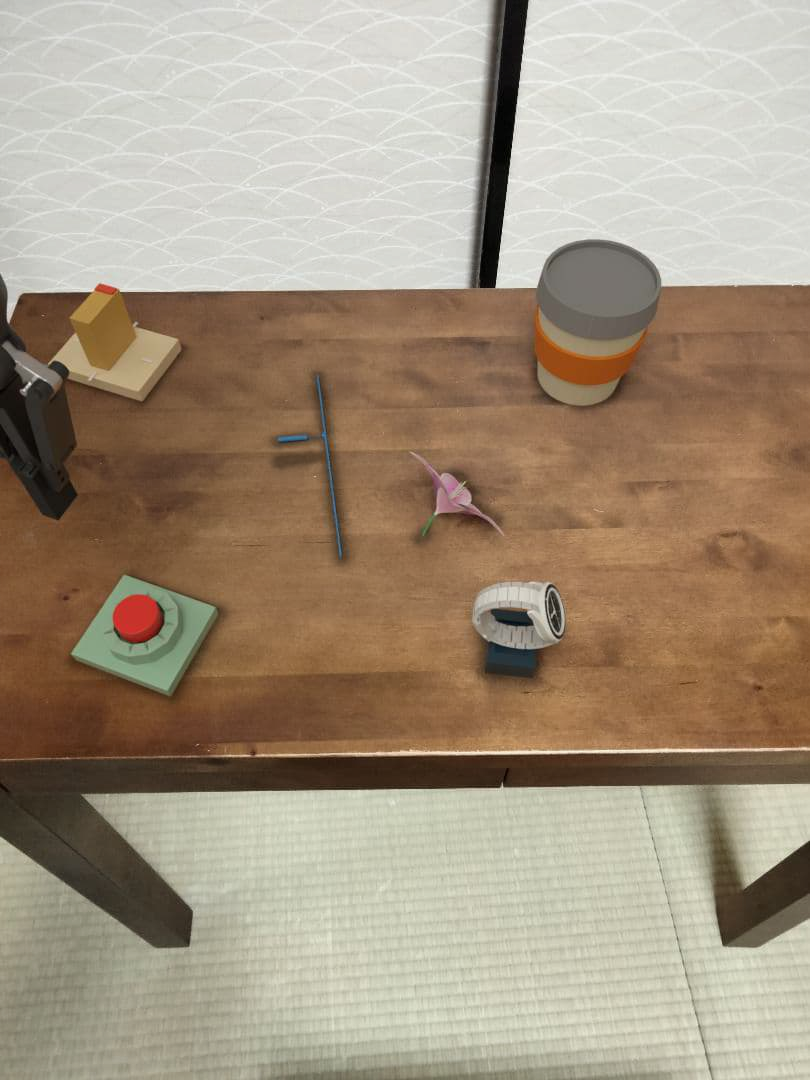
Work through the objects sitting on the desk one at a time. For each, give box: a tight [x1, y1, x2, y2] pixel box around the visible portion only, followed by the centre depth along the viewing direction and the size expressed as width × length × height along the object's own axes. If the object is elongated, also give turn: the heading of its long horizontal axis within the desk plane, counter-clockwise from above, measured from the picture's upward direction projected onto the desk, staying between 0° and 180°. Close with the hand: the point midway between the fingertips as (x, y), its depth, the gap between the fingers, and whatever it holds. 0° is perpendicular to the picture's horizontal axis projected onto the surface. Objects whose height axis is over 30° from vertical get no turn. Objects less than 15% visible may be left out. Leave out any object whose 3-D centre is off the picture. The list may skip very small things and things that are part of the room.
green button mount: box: [70, 574, 219, 697], centre depth 75 cm, size 10×9×4 cm
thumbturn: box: [69, 282, 136, 371], centre depth 91 cm, size 6×2×7 cm, turn 159°
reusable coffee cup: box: [533, 238, 662, 406], centre depth 89 cm, size 13×12×15 cm
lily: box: [409, 451, 506, 538], centre depth 81 cm, size 12×12×10 cm
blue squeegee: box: [277, 374, 343, 558], centre depth 88 cm, size 1×25×5 cm
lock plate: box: [47, 321, 183, 402], centre depth 95 cm, size 12×10×3 cm
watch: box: [471, 580, 566, 679], centre depth 72 cm, size 6×8×11 cm
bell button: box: [112, 594, 163, 642], centre depth 73 cm, size 4×4×2 cm
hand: (60, 504), depth 65 cm, fingers closed
